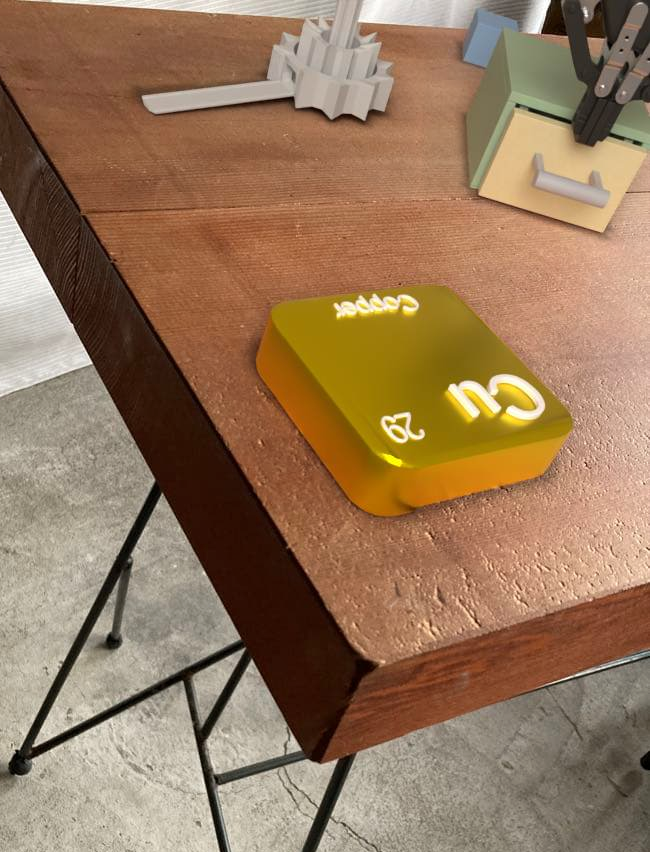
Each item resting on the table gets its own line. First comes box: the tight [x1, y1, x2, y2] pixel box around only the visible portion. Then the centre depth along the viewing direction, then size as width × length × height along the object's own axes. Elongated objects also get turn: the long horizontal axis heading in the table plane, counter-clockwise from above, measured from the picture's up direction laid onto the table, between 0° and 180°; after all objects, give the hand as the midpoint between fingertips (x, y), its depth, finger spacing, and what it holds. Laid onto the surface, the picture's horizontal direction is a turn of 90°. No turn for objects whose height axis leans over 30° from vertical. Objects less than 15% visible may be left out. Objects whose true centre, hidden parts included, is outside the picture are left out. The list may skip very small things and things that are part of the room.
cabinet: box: [465, 27, 650, 190], centre depth 88 cm, size 15×13×9 cm
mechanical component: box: [141, 0, 395, 122], centre depth 82 cm, size 11×25×15 cm, turn 136°
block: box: [462, 7, 520, 69], centre depth 105 cm, size 5×5×5 cm
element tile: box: [255, 284, 575, 518], centre depth 60 cm, size 15×15×5 cm
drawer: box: [477, 103, 648, 234], centre depth 84 cm, size 18×11×7 cm, turn 172°
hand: (583, 140), depth 78 cm, fingers closed
